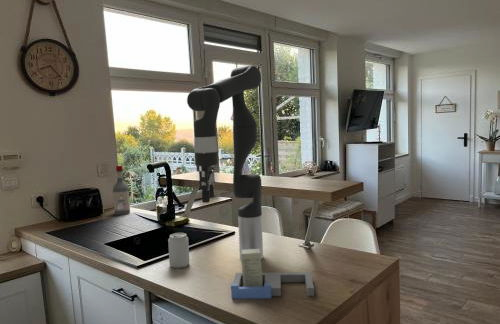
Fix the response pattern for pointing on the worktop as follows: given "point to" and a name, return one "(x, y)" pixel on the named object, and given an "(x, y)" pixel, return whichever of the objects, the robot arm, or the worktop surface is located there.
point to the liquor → (121, 194)
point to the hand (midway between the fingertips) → (208, 199)
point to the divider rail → (270, 285)
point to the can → (178, 250)
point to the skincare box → (251, 268)
